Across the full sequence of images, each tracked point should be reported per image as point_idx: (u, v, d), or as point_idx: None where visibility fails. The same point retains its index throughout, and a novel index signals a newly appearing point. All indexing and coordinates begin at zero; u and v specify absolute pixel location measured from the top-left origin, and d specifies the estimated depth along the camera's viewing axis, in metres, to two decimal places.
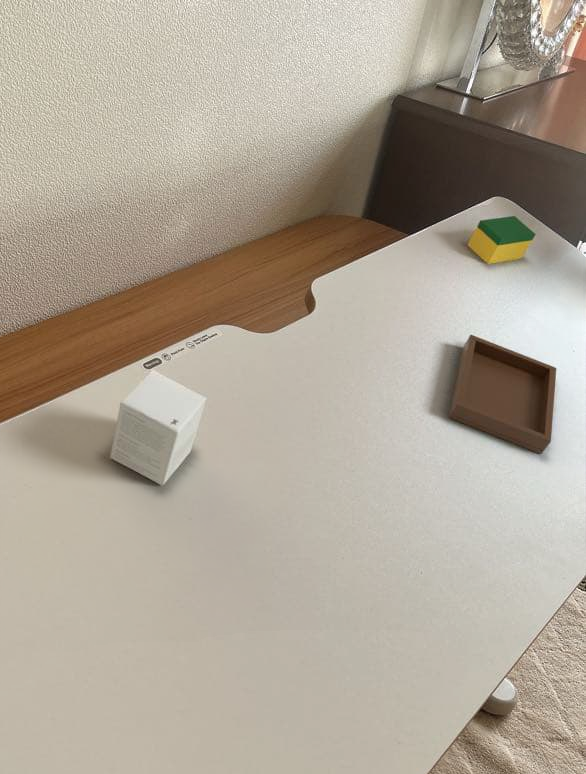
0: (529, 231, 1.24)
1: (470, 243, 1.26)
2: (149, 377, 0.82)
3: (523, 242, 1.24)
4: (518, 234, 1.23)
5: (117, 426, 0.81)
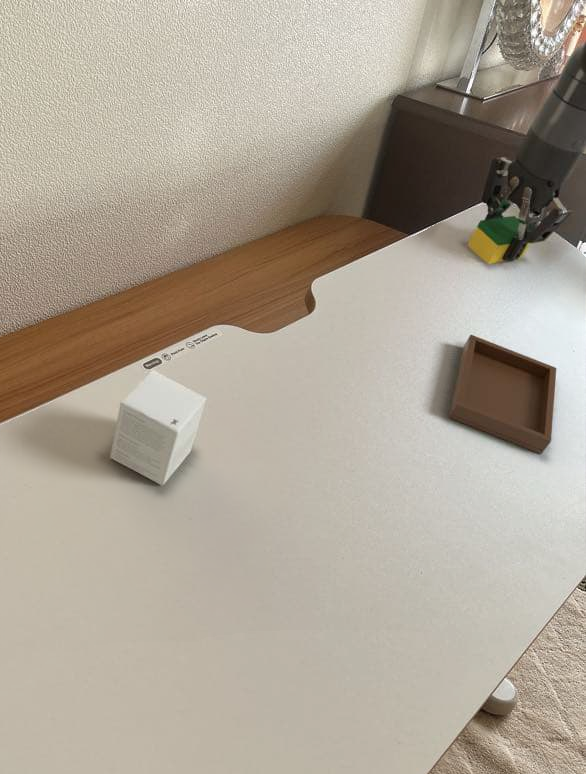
0: None
1: (470, 243, 1.26)
2: (149, 377, 0.82)
3: None
4: None
5: (117, 426, 0.81)
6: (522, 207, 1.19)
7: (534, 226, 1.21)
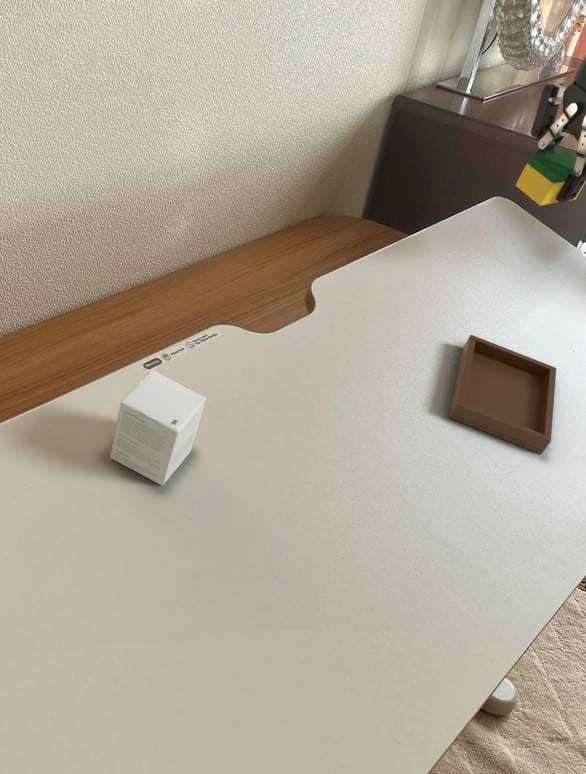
0: None
1: (518, 182, 1.11)
2: (149, 377, 0.82)
3: None
4: None
5: (117, 426, 0.81)
6: (581, 138, 1.05)
7: None
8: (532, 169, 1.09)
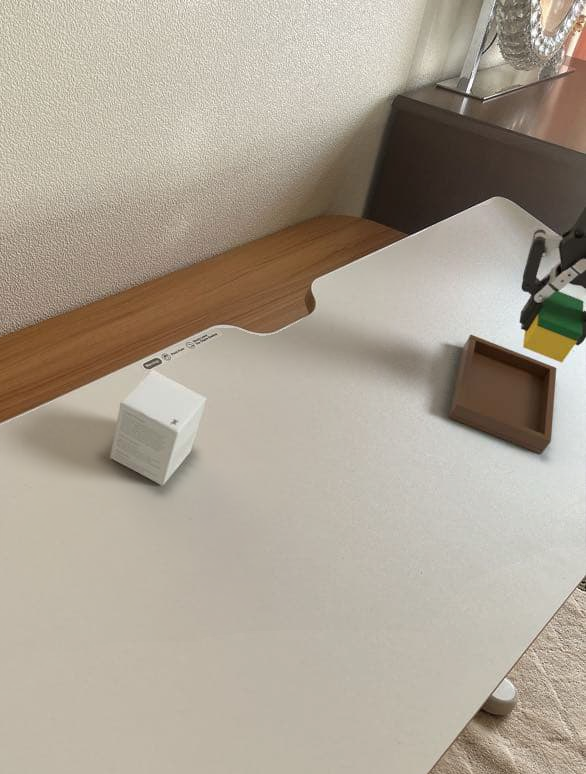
0: (577, 301, 0.98)
1: (528, 344, 0.97)
2: (149, 377, 0.82)
3: None
4: (578, 313, 0.97)
5: (117, 426, 0.81)
6: None
7: None
8: (545, 330, 0.95)
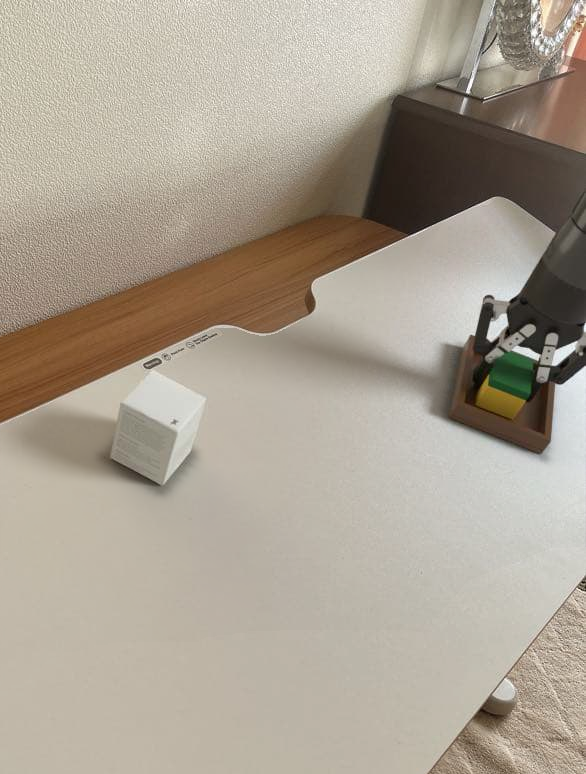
0: (527, 360, 1.02)
1: (479, 402, 1.01)
2: (149, 377, 0.82)
3: None
4: (528, 373, 1.01)
5: (117, 426, 0.81)
6: (545, 352, 0.96)
7: None
8: (496, 390, 0.99)
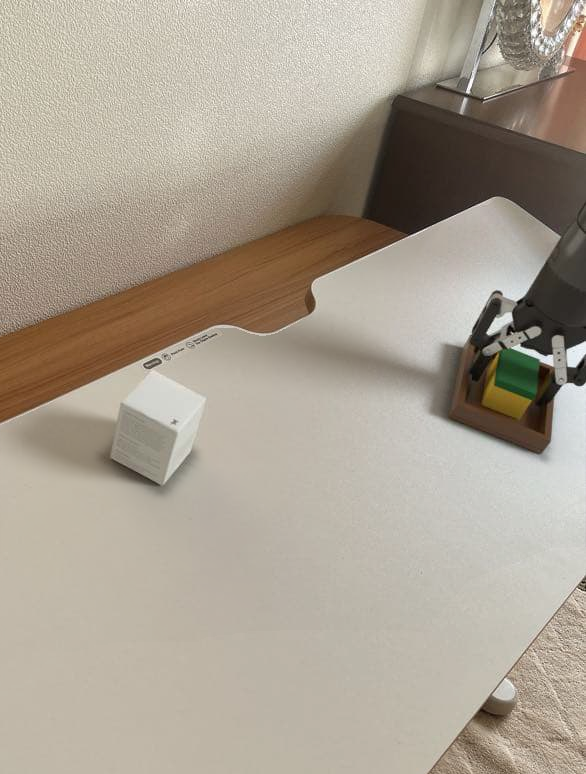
0: (533, 359, 1.03)
1: (485, 402, 1.01)
2: (149, 377, 0.82)
3: None
4: (534, 372, 1.01)
5: (117, 426, 0.81)
6: (555, 355, 0.97)
7: (565, 361, 0.99)
8: (502, 390, 1.00)
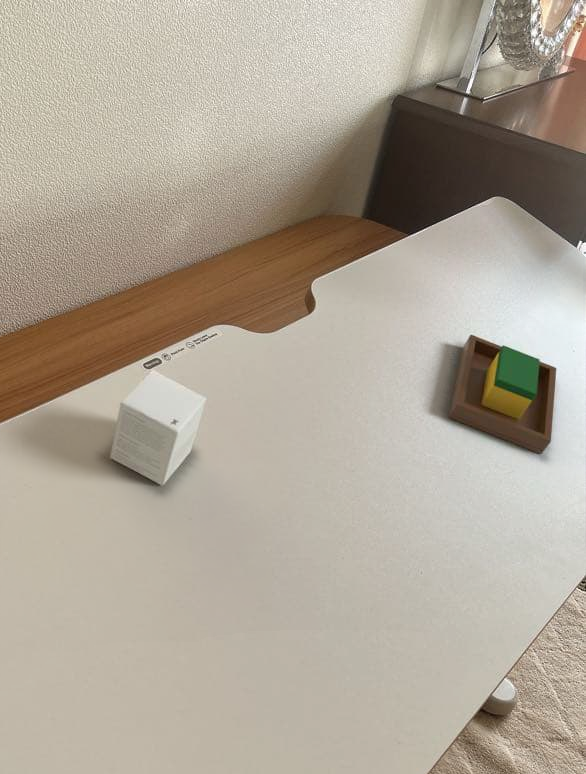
0: (533, 359, 1.03)
1: (485, 402, 1.01)
2: (149, 377, 0.82)
3: None
4: (534, 372, 1.01)
5: (117, 426, 0.81)
6: None
7: None
8: (502, 390, 1.00)
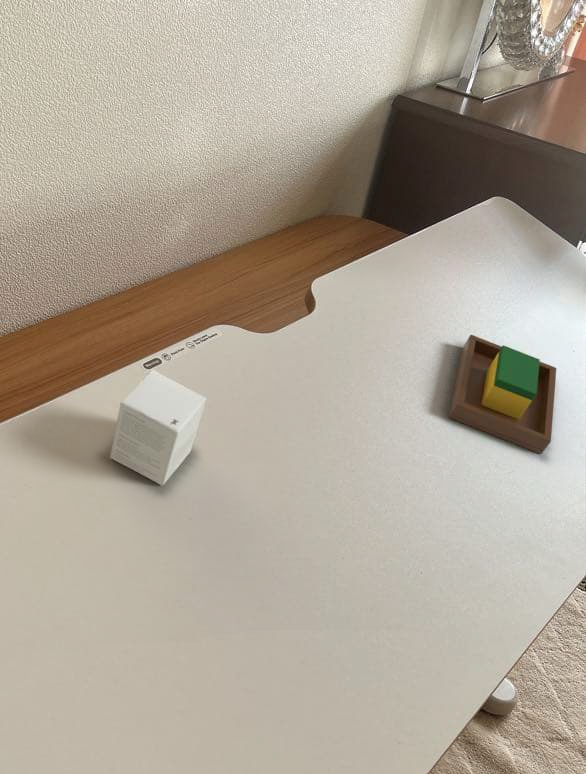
0: (533, 359, 1.03)
1: (485, 402, 1.01)
2: (149, 377, 0.82)
3: None
4: (534, 372, 1.01)
5: (117, 426, 0.81)
6: None
7: None
8: (502, 390, 1.00)
